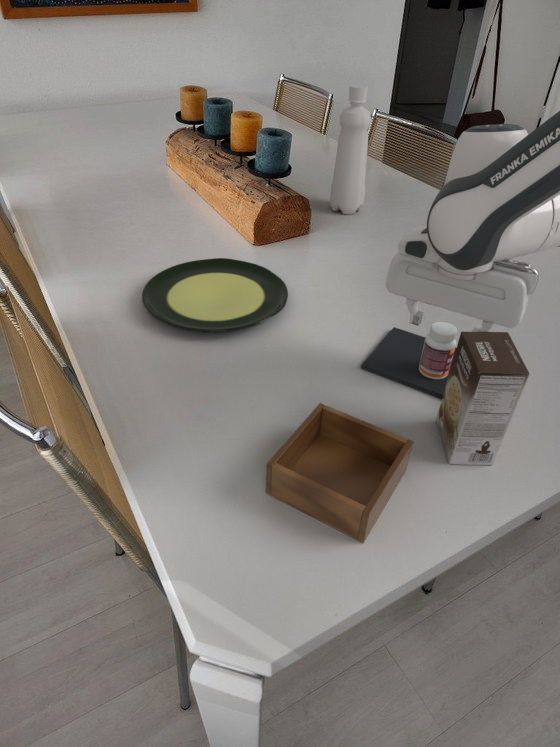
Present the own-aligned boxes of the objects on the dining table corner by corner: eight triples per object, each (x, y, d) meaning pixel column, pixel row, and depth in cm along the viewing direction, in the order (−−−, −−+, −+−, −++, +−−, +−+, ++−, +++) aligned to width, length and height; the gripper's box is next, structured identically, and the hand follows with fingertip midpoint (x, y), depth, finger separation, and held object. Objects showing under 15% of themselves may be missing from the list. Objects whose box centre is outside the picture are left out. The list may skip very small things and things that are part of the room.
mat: (503, 367, 92) (504, 363, 91) (480, 413, 82) (482, 409, 82) (393, 330, 100) (393, 326, 99) (360, 368, 90) (361, 364, 90)
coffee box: (433, 419, 81) (459, 328, 71) (476, 421, 81) (507, 330, 71) (448, 465, 73) (478, 371, 64) (495, 467, 73) (532, 373, 64)
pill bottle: (449, 382, 87) (461, 338, 82) (418, 378, 87) (429, 334, 82) (447, 364, 90) (458, 321, 85) (417, 361, 91) (427, 318, 86)
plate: (150, 269, 116) (148, 258, 114) (280, 267, 119) (280, 256, 117) (135, 343, 94) (133, 331, 92) (295, 338, 97) (296, 327, 95)
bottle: (369, 209, 148) (385, 86, 129) (351, 218, 142) (365, 91, 124) (340, 201, 152) (352, 81, 134) (322, 210, 146) (332, 85, 128)
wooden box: (406, 470, 73) (413, 441, 69) (363, 543, 63) (369, 514, 60) (317, 431, 78) (320, 402, 75) (265, 493, 69) (266, 463, 65)
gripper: (547, 258, 74) (518, 343, 82) (405, 225, 82) (391, 305, 90) (538, 275, 69) (508, 363, 77) (388, 238, 78) (376, 321, 86)
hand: (444, 332), depth 84 cm, fingers open, 8 cm apart
